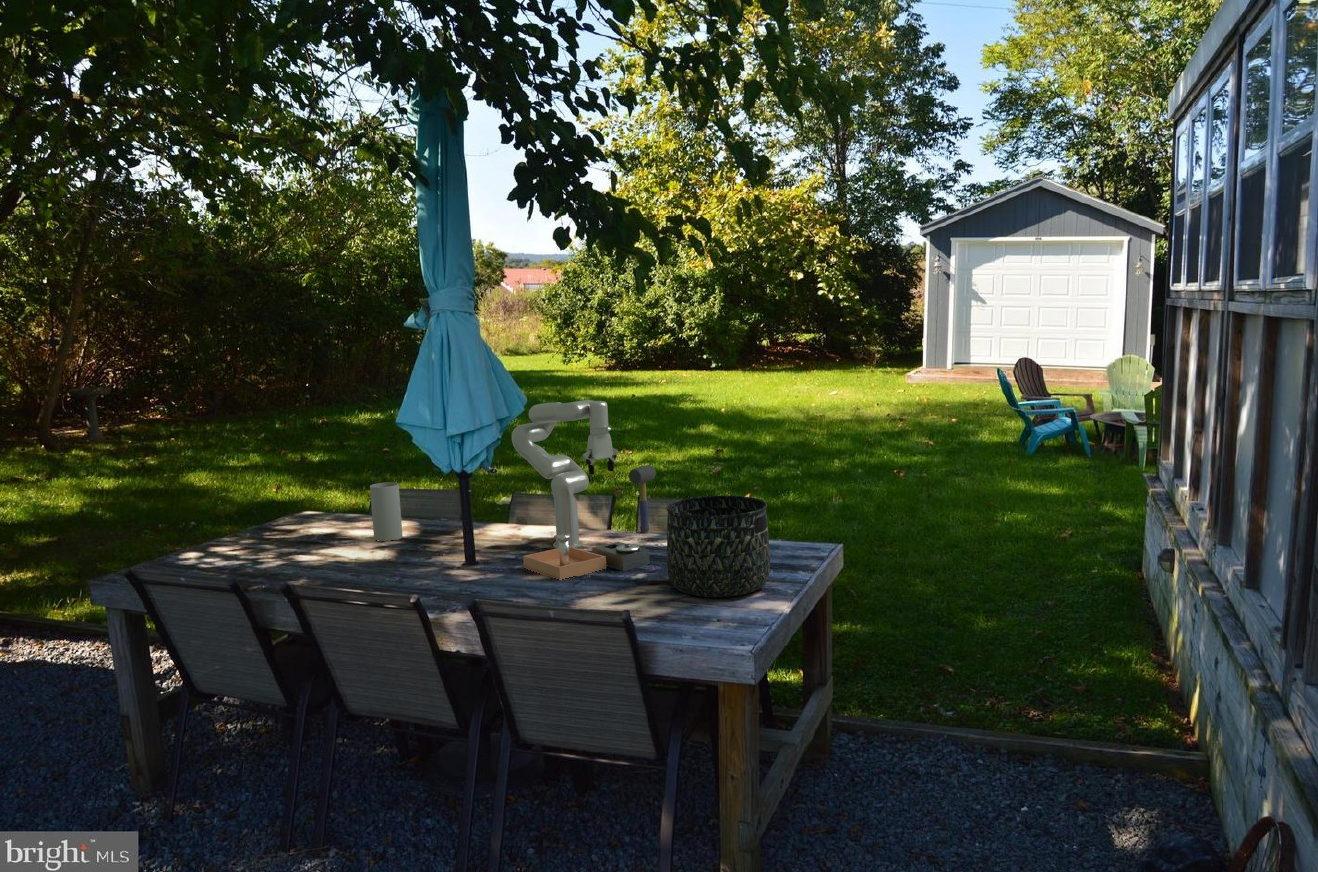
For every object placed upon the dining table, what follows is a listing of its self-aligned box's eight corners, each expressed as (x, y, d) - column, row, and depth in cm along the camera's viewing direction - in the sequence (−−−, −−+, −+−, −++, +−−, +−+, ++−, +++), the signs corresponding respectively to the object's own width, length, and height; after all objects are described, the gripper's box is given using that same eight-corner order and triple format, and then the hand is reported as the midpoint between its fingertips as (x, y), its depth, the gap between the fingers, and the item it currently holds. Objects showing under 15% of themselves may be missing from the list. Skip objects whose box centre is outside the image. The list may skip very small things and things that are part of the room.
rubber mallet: (643, 536, 450) (641, 468, 446) (630, 534, 454) (627, 467, 450) (659, 530, 460) (656, 464, 456) (645, 528, 464) (643, 463, 460)
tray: (523, 568, 403) (523, 555, 403) (569, 557, 417) (568, 545, 416) (560, 580, 384) (559, 567, 383) (606, 569, 397) (605, 556, 396)
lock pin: (555, 566, 401) (553, 535, 399) (566, 563, 404) (565, 532, 402) (563, 568, 396) (561, 537, 395) (574, 566, 400) (573, 534, 398)
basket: (708, 568, 392) (706, 491, 388) (790, 582, 369) (788, 500, 365) (647, 591, 364) (643, 509, 360) (731, 608, 341) (728, 520, 337)
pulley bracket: (592, 562, 409) (591, 541, 408) (618, 556, 417) (617, 535, 416) (623, 571, 393) (622, 549, 392) (649, 564, 401) (648, 543, 400)
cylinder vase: (368, 541, 460) (364, 487, 457) (383, 535, 472) (379, 482, 469) (393, 542, 456) (388, 487, 453) (407, 536, 468) (403, 482, 465)
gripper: (611, 428, 426) (612, 469, 429) (576, 433, 416) (578, 474, 418) (621, 429, 420) (623, 470, 423) (587, 434, 410) (589, 476, 412)
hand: (601, 472), depth 420 cm, fingers open, 9 cm apart
